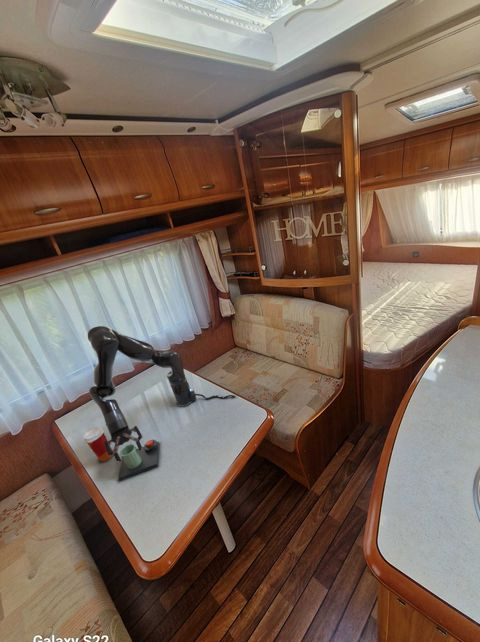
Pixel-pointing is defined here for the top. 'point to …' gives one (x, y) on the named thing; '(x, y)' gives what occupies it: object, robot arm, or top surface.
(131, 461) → the tumbler
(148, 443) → the tare button
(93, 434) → the coffee cup
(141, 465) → the scale
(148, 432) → the top surface
